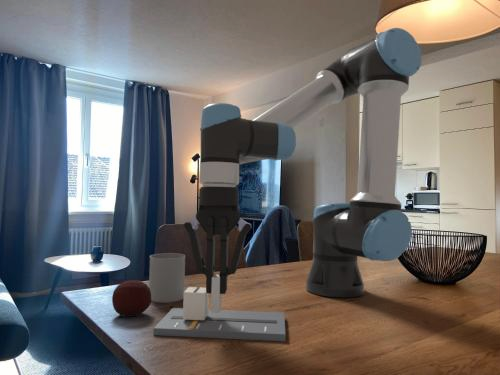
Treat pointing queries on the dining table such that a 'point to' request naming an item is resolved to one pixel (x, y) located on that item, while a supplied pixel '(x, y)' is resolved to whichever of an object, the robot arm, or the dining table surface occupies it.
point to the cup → (167, 277)
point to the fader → (195, 303)
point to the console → (225, 325)
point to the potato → (131, 298)
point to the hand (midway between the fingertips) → (216, 310)
